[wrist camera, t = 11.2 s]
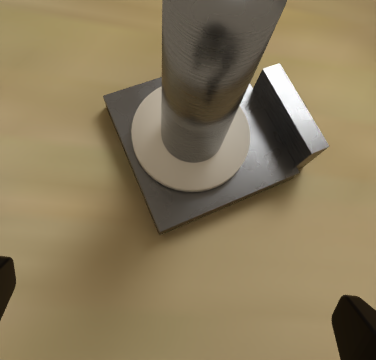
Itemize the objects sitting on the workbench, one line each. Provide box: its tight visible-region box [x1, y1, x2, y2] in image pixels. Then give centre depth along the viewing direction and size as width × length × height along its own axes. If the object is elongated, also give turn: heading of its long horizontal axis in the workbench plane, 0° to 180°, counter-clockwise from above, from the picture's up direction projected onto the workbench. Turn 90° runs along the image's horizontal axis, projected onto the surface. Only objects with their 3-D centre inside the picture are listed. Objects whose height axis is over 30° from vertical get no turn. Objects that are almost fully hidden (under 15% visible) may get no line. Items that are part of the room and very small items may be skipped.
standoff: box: [161, 0, 287, 163], centre depth 17 cm, size 4×4×12 cm
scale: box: [103, 63, 329, 235], centre depth 23 cm, size 11×13×4 cm
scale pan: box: [131, 86, 250, 192], centre depth 23 cm, size 8×8×1 cm
